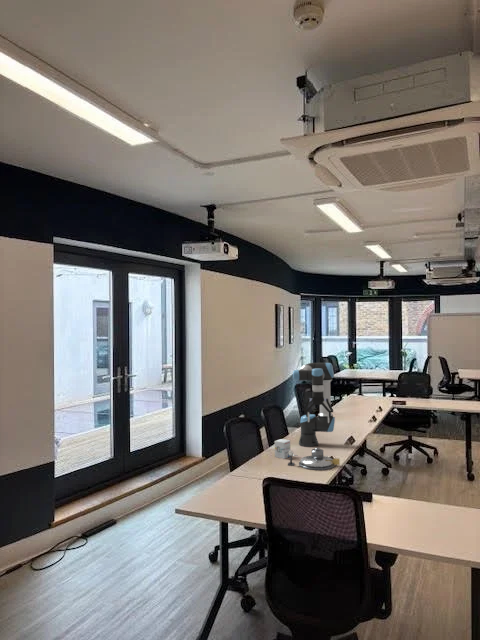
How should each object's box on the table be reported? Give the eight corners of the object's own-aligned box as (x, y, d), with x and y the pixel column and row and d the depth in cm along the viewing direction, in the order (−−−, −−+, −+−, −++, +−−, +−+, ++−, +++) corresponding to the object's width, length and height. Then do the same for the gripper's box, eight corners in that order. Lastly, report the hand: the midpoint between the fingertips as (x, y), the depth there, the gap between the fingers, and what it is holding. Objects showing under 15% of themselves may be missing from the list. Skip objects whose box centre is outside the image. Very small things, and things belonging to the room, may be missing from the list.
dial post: (288, 463, 323) (288, 449, 323) (298, 464, 321) (297, 449, 321) (287, 465, 319) (287, 450, 319) (297, 466, 317) (297, 451, 317)
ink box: (281, 454, 347) (280, 438, 347) (291, 456, 342) (290, 440, 342) (274, 457, 340) (274, 440, 340) (284, 458, 335) (284, 442, 335)
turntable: (302, 457, 332) (302, 452, 332) (340, 459, 326) (340, 454, 326) (298, 466, 311) (298, 461, 311) (338, 469, 304) (338, 463, 304)
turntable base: (301, 459, 333) (301, 457, 333) (336, 460, 327) (336, 459, 327) (296, 469, 310) (296, 467, 310) (333, 471, 304) (333, 469, 304)
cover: (312, 455, 329) (312, 446, 330) (324, 456, 327) (323, 446, 328) (311, 458, 322) (310, 449, 322) (323, 459, 320) (322, 449, 320)
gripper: (298, 391, 324) (299, 422, 324) (335, 392, 317) (336, 423, 316) (300, 390, 331) (301, 420, 331) (336, 390, 324) (337, 421, 324)
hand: (318, 422), depth 324 cm, fingers open, 13 cm apart
